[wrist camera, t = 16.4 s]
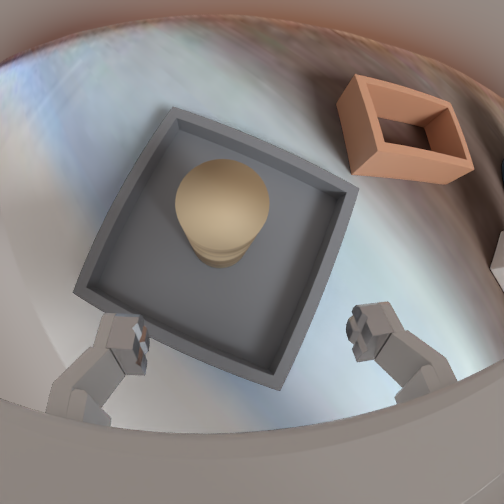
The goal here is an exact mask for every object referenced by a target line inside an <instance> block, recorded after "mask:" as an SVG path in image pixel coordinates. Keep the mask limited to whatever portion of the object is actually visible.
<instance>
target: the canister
mask: <svg viewBox="0 0 504 504" xmlns="http://www.w3.org/2000/svg"><path fill="white" fill-rule="evenodd" d="M502 177H503V182H504V159H503V161H502Z"/></svg>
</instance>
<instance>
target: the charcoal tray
mask: <svg viewBox="0 0 504 504" xmlns="http://www.w3.org/2000/svg"><path fill="white" fill-rule="evenodd" d="M216 159H229V160H234V161H238V162H241V163H243V164H245V165H247V166H249V167H250V168H252V169H253V170H254V171H255V172H256V173H257V174H258V175H259V176H260V177H261V179H262V180H263V182H264V184H265V186H266V188H267V191H268V195H269V203H270V204H269V212H268V216H267V219H266V222H265V223H264V225H263V227H262V228H261V230H260V231H259V233H258V234H257V236H256V237H255V239H254V240H253V242H252V243H251V245H250V246H249V248H248V249H247V251H246V252H245V254H244V255H243V257H242V258H241V259H240V260H239V261H238V262H237V263H236V264H234V265H232V266H230V267H227V268H214V267H210V266H208V265H206V264H204V263H203V262H202V261H201V260H200V259H199V258H198V257H197V255H196V254H195V252H194V250H193V248H192V246H191V244H190V242H189V240H188V238H187V236H186V234H185V232H184V230H183V228H182V226H181V225H180V222H179V220H178V218H177V214H176V208H175V199H176V193H177V190H178V187H179V185H180V183H181V182H182V180H183V178H184V177H185V176H186V175H187V174H188V173H189V172H190V171H191V170H192V169H193V168H195V167H196V166H198V165H200V164H202V163H204V162H207V161H210V160H216ZM358 191H359V188H358V187H356V186H354V185H352V184H351V183H349V182H347V181H345V180H343V179H341V178H339V177H338V176H336V175H334V174H332V173H330V172H328V171H326V170H324V169H322V168H320V167H318V166H316V165H314V164H312V163H310V162H308V161H306V160H304V159H302V158H300V157H298V156H296V155H294V154H291V153H289V152H287V151H285V150H283V149H281V148H278V147H276V146H274V145H272V144H269V143H267V142H265V141H262V140H260V139H258V138H255V137H253V136H251V135H248V134H246V133H243V132H241V131H239V130H236V129H234V128H231V127H228V126H226V125H223V124H221V123H218V122H215V121H213V120H210V119H207V118H205V117H202V116H199V115H196V114H193V113H190V112H188V111H185V110H182V109H179V108H176V107H172V109H171V110H170V111H169V113H168V114H167V116H166V117H165V118H164V120H163V121H162V123H161V124H160V126H159V127H158V129H157V130H156V132H155V133H154V135H153V136H152V138H151V139H150V141H149V142H148V144H147V145H146V147H145V149H144V150H143V152H142V153H141V155H140V157H139V158H138V160H137V161H136V163H135V165H134V166H133V168H132V170H131V171H130V173H129V175H128V177H127V178H126V180H125V182H124V184H123V185H122V187H121V189H120V191H119V193H118V194H117V196H116V198H115V200H114V202H113V204H112V206H111V208H110V210H109V212H108V214H107V215H106V217H105V219H104V221H103V224H102V226H101V228H100V230H99V232H98V234H97V236H96V238H95V240H94V243H93V245H92V247H91V249H90V251H89V254H88V256H87V258H86V261H85V263H84V265H83V268H82V270H81V273H80V275H79V278H78V280H77V283H76V285H75V288H74V291H73V293H74V294H75V295H77V296H78V297H80V298H82V299H83V300H85V301H86V302H88V303H90V304H91V305H93V306H95V307H96V308H98V309H100V310H101V311H103V312H105V313H121V314H140V315H143V318H144V326H145V327H146V328H147V329H148V333H149V337H151V338H153V339H155V340H157V341H159V342H161V343H163V344H165V345H167V346H169V347H171V348H173V349H176V350H178V351H180V352H182V353H184V354H186V355H189V356H191V357H193V358H195V359H198V360H200V361H202V362H205V363H207V364H209V365H212V366H214V367H216V368H219V369H221V370H224V371H226V372H229V373H231V374H234V375H236V376H239V377H242V378H244V379H247V380H250V381H252V382H255V383H258V384H261V385H264V386H266V387H269V388H272V389H275V390H278V391H280V390H281V388H282V386H283V384H284V382H285V380H286V377H287V375H288V373H289V371H290V369H291V367H292V365H293V363H294V360H295V358H296V356H297V354H298V351H299V349H300V347H301V345H302V342H303V340H304V338H305V336H306V333H307V331H308V329H309V326H310V324H311V322H312V319H313V317H314V314H315V312H316V309H317V307H318V305H319V302H320V300H321V297H322V295H323V292H324V289H325V287H326V284H327V282H328V279H329V276H330V274H331V271H332V268H333V266H334V263H335V260H336V257H337V255H338V252H339V249H340V246H341V243H342V241H343V238H344V235H345V232H346V229H347V226H348V223H349V220H350V217H351V214H352V211H353V208H354V204H355V201H356V198H357V195H358Z"/></svg>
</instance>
